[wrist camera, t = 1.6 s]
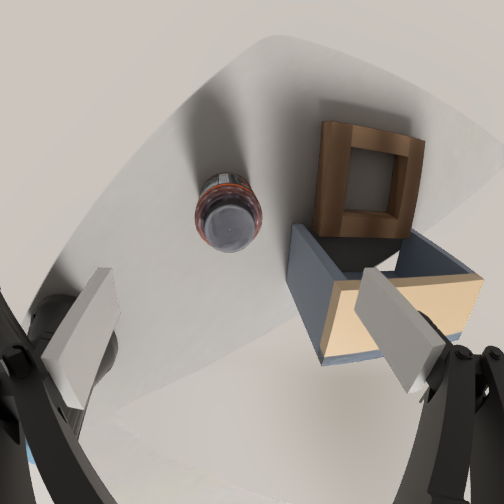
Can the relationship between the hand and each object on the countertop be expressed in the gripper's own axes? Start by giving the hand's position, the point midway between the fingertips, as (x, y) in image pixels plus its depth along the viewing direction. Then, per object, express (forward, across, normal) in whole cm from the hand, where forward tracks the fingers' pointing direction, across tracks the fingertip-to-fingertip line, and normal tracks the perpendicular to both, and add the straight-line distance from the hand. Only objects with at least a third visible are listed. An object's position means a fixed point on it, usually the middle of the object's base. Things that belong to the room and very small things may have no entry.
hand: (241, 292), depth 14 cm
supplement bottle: (+20, 0, 0) cm, 20 cm away
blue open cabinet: (+20, +17, -7) cm, 27 cm away
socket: (+20, +17, +3) cm, 26 cm away
